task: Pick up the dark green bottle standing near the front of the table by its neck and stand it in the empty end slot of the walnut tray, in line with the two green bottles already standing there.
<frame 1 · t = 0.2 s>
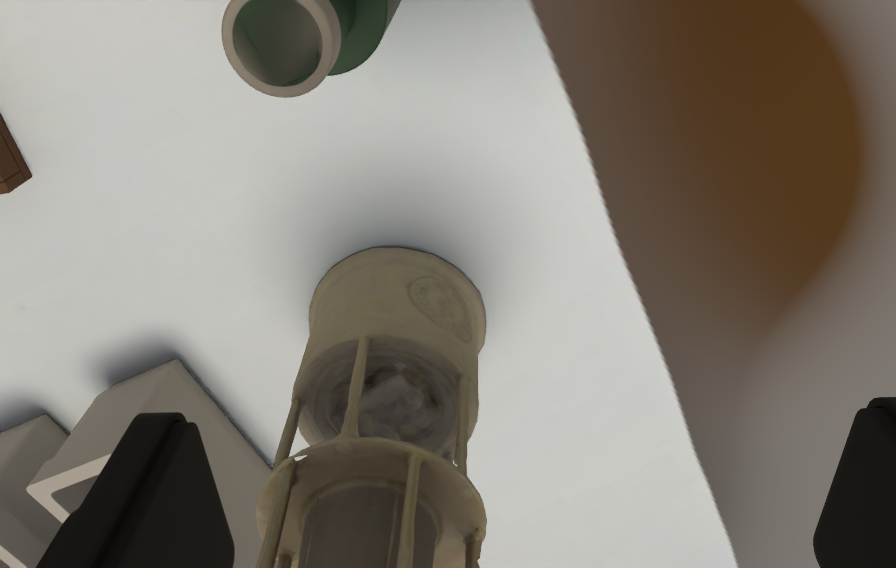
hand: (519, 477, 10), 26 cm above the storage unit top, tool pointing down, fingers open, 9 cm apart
lamp: (404, 339, 41), on the storage unit top
grey compartment organizer: (206, 526, 50), on the storage unit top
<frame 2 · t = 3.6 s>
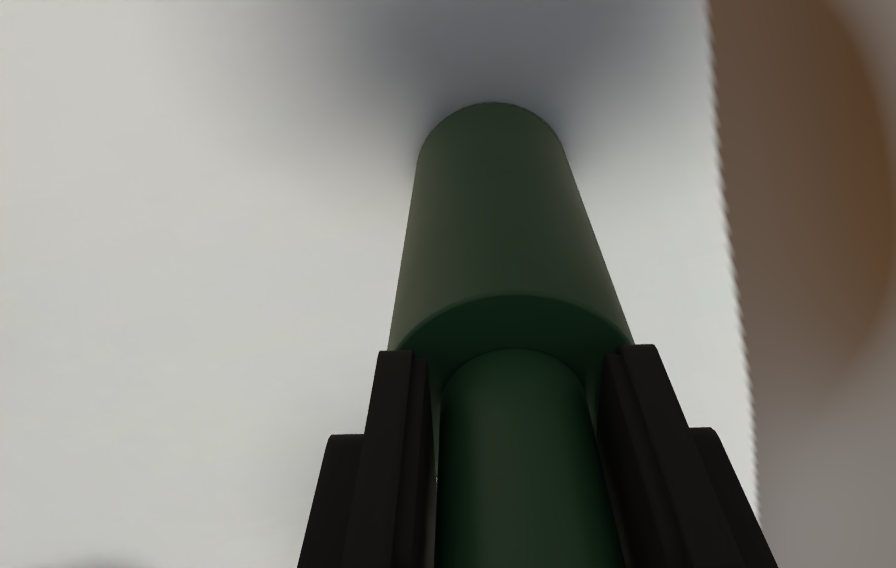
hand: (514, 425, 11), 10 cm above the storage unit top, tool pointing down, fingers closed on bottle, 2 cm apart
bottle: (491, 176, 20), on the storage unit top, touching gripper
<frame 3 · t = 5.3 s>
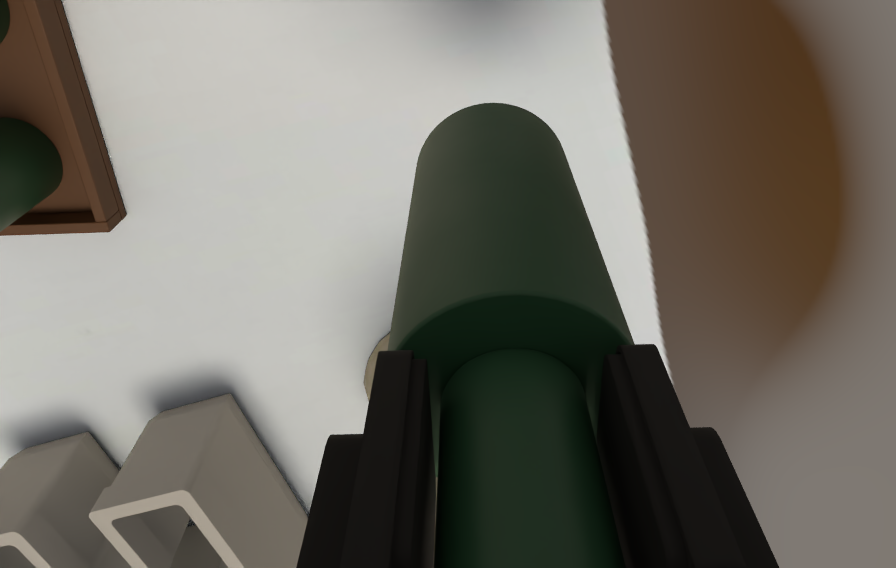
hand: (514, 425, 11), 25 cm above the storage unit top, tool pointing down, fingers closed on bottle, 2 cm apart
bottle end: (19, 159, 35), point 1 cm above the storage unit top, touching tray
lamp: (450, 397, 43), on the storage unit top
bottle: (491, 176, 20), point 15 cm above the storage unit top, touching gripper
grey compartment organizer: (223, 549, 51), on the storage unit top
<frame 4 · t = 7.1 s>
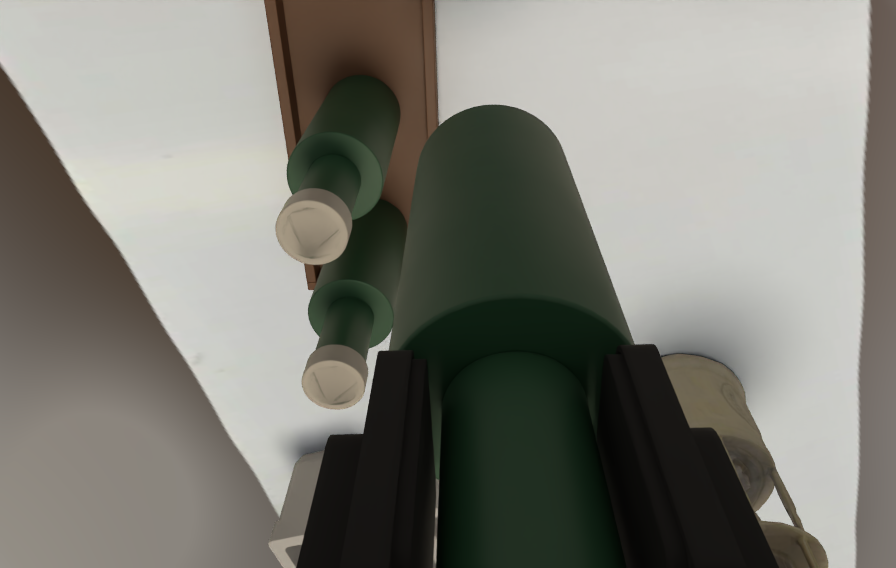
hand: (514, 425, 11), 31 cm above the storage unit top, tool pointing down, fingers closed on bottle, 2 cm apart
bottle end: (373, 229, 43), point 1 cm above the storage unit top, touching tray
lamp: (671, 419, 52), on the storage unit top
bottle mid: (362, 112, 39), point 1 cm above the storage unit top, touching tray
bottle: (491, 178, 20), point 21 cm above the storage unit top, touching gripper
grey compartment organizer: (445, 541, 60), on the storage unit top
tray: (364, 109, 40), on the storage unit top
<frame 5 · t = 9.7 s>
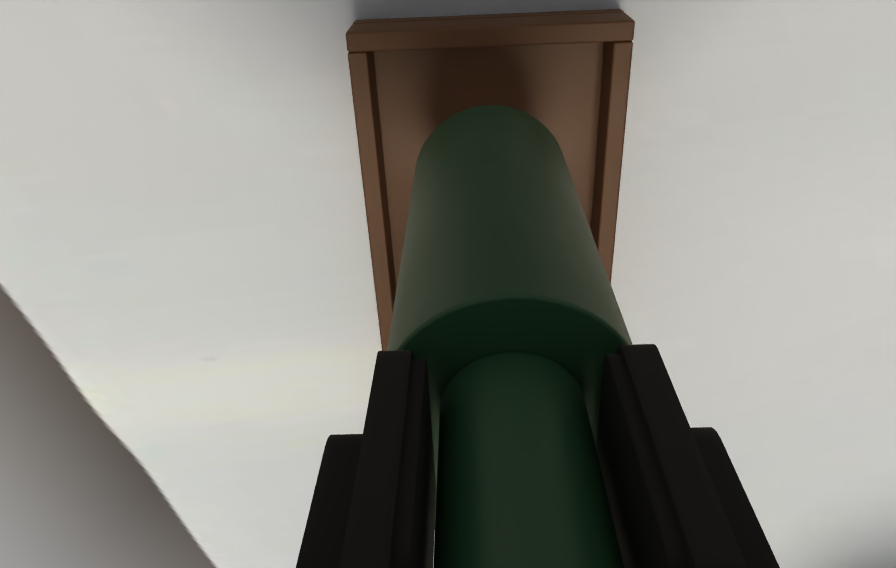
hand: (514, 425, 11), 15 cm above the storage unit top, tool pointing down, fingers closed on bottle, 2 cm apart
bottle: (489, 178, 20), point 5 cm above the storage unit top, touching gripper
tray: (490, 301, 28), on the storage unit top
when the fingers open (11 cm above the storage unit top, at t = 11.1 s): bottle stays where it is, resting on tray.
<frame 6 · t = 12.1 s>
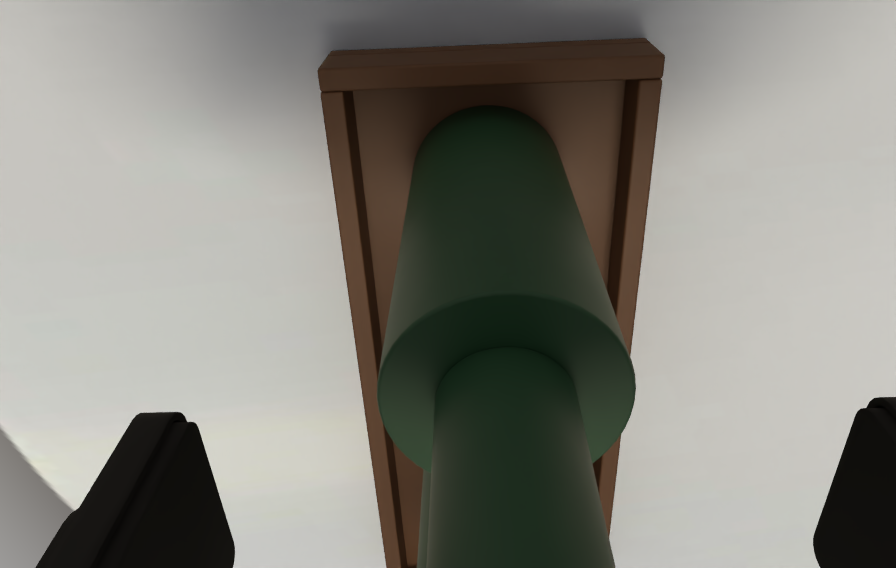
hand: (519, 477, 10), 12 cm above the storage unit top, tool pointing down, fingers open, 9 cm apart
bottle mid: (492, 375, 24), point 1 cm above the storage unit top, touching tray
bottle: (486, 178, 20), point 1 cm above the storage unit top, touching tray
tray: (491, 364, 24), on the storage unit top
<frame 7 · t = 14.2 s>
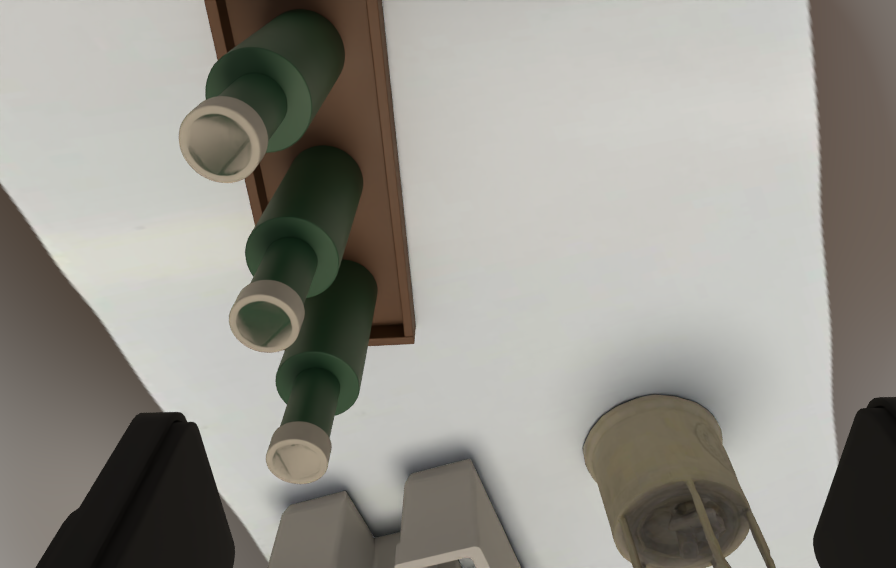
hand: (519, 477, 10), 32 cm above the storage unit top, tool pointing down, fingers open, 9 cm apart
bottle end: (343, 288, 44), point 1 cm above the storage unit top, touching tray
lamp: (650, 457, 53), on the storage unit top
bottle mid: (326, 180, 41), point 1 cm above the storage unit top, touching tray
bottle: (304, 52, 37), point 1 cm above the storage unit top, touching tray
tray: (328, 176, 41), on the storage unit top
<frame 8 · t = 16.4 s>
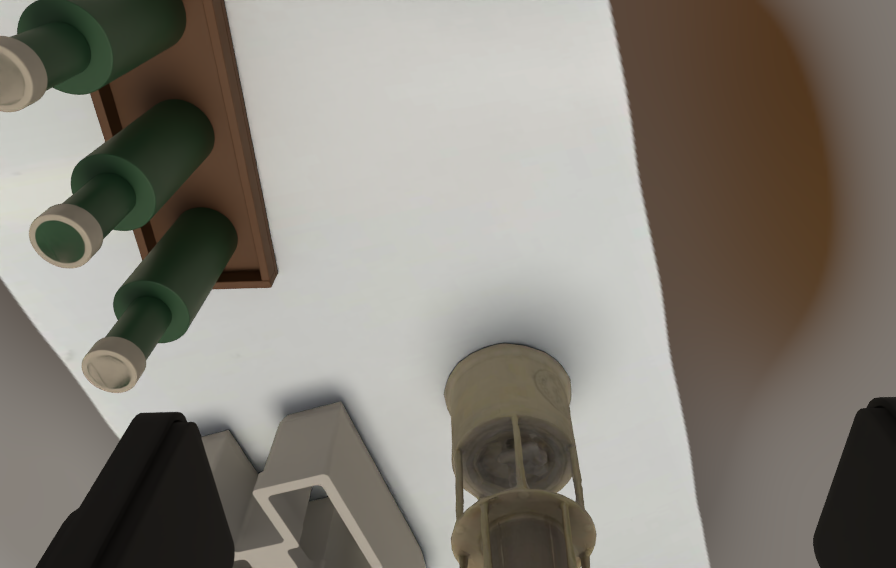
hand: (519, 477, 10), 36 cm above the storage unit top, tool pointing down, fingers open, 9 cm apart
bottle end: (206, 235, 48), point 1 cm above the storage unit top, touching tray
lamp: (508, 404, 57), on the storage unit top
bottle mid: (180, 132, 44), point 1 cm above the storage unit top, touching tray
bottle: (149, 11, 41), point 1 cm above the storage unit top, touching tray
grey compartment organizer: (322, 522, 65), on the storage unit top
tray: (184, 129, 45), on the storage unit top
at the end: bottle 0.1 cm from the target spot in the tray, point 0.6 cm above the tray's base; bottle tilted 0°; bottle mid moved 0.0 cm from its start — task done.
